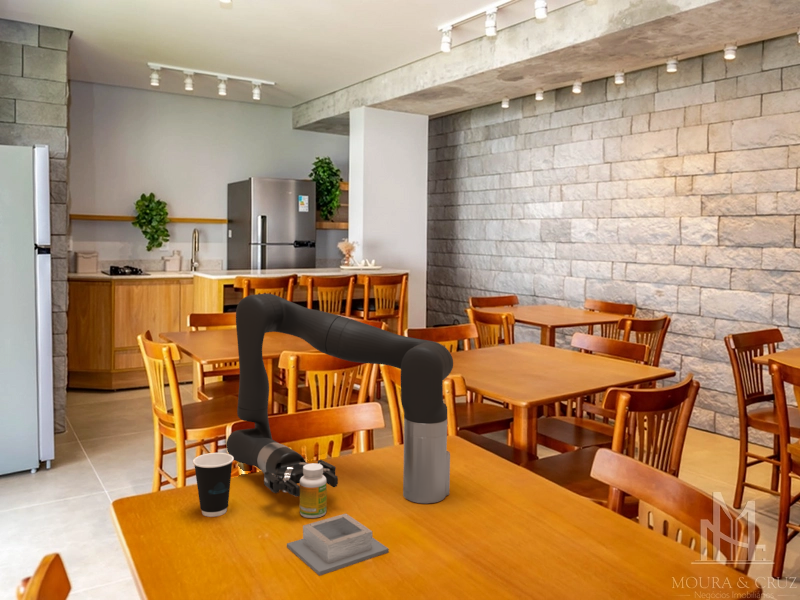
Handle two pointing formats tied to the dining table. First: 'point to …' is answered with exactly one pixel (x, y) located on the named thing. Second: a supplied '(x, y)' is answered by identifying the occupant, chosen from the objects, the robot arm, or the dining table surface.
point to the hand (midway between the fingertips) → (317, 487)
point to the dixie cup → (213, 482)
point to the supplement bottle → (313, 491)
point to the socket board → (336, 544)
